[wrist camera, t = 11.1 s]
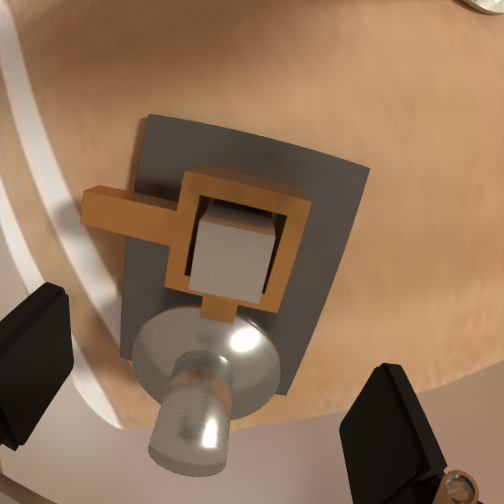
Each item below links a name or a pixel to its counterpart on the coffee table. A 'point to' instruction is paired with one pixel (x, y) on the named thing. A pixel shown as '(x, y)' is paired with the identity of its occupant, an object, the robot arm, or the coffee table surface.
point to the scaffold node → (213, 306)
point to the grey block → (232, 251)
